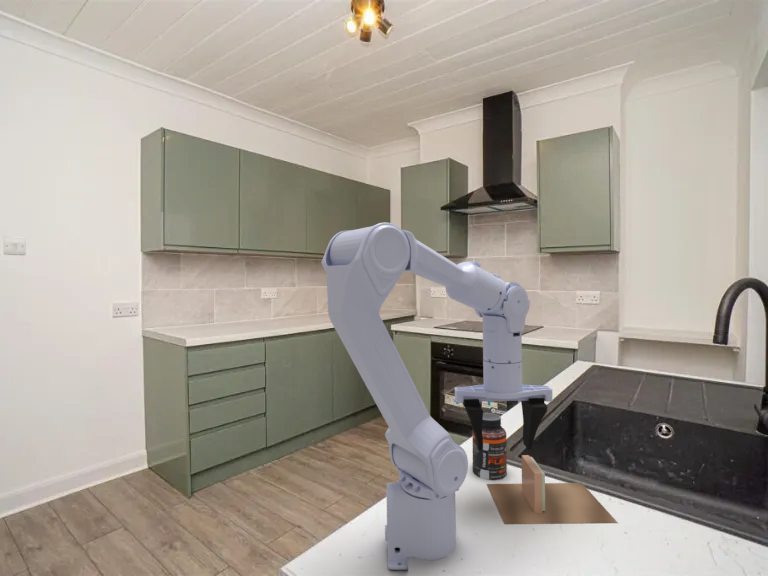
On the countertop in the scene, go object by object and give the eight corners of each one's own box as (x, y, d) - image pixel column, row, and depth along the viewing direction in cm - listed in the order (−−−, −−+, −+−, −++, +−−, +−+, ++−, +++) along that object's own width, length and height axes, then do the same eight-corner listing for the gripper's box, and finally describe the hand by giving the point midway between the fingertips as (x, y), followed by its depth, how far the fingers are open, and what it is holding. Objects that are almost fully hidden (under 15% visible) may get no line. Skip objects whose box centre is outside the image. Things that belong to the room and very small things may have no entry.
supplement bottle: (490, 490, 69) (490, 424, 68) (465, 476, 74) (464, 415, 73) (514, 480, 72) (513, 417, 72) (488, 467, 77) (487, 408, 77)
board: (504, 532, 58) (504, 523, 58) (486, 490, 69) (486, 483, 69) (618, 531, 57) (618, 522, 57) (581, 489, 68) (581, 482, 68)
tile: (534, 513, 60) (534, 473, 60) (522, 491, 66) (521, 455, 66) (545, 513, 60) (545, 473, 60) (531, 491, 66) (531, 455, 66)
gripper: (540, 353, 66) (541, 435, 67) (451, 355, 67) (452, 437, 67) (557, 363, 59) (558, 454, 60) (458, 365, 60) (459, 456, 60)
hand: (503, 446), depth 63 cm, fingers open, 7 cm apart
